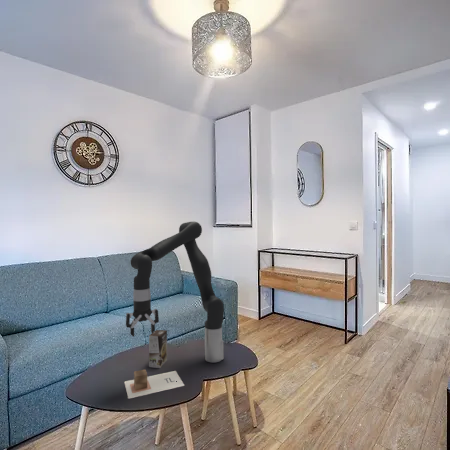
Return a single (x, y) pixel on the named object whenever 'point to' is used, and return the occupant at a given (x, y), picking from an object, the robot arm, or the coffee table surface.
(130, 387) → the mat
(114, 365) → the coffee table surface
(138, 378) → the walnut block
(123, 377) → the coffee table surface
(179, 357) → the coffee table surface
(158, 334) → the coffee box
